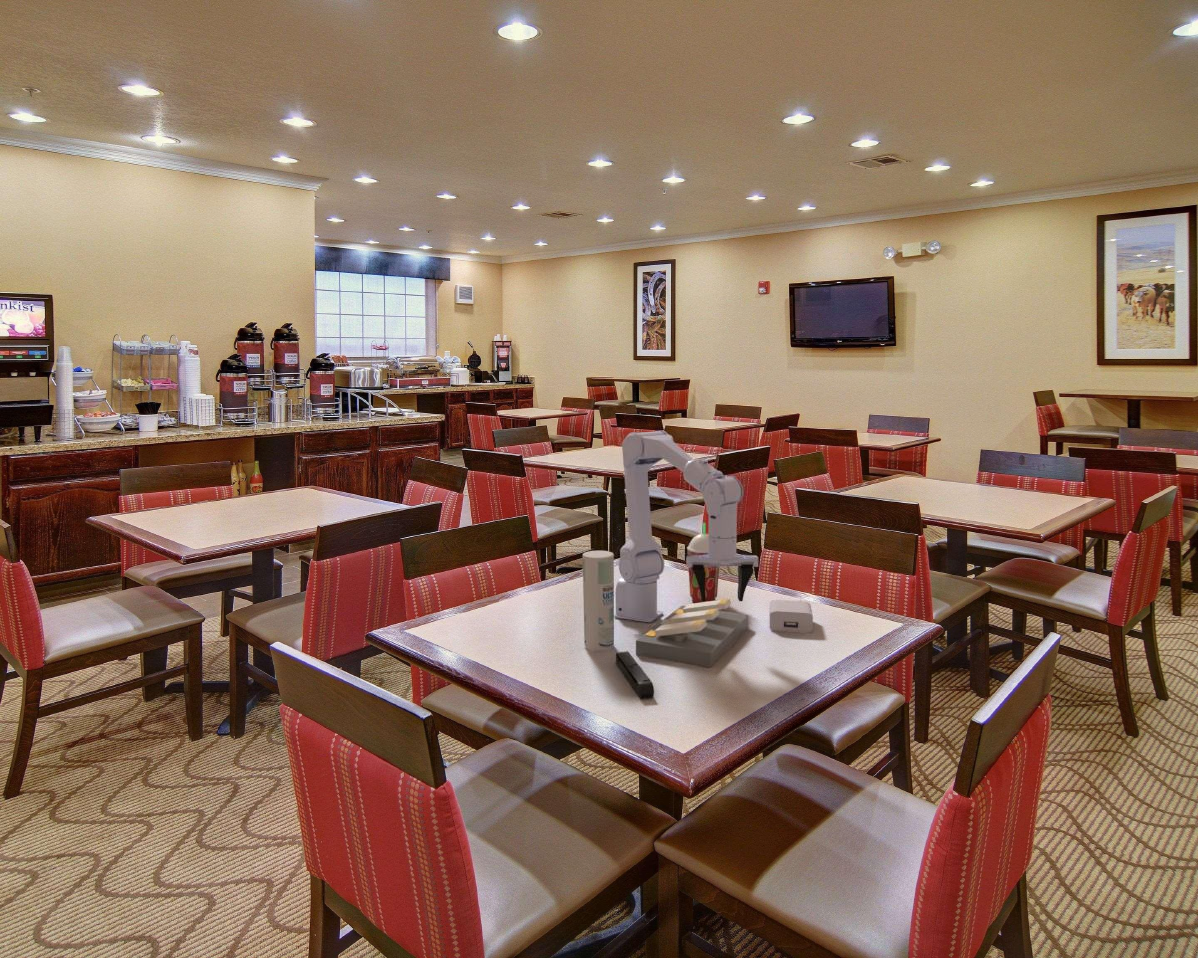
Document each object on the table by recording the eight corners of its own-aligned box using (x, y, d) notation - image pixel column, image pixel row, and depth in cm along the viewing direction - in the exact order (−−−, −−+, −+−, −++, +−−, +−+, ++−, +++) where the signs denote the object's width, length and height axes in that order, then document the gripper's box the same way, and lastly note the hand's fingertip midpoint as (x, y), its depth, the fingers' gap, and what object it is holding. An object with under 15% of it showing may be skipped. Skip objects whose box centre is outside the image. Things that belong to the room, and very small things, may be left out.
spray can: (604, 653, 156) (603, 559, 153) (577, 648, 159) (576, 555, 156) (620, 644, 161) (619, 552, 158) (594, 638, 164) (593, 549, 162)
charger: (808, 612, 181) (812, 633, 167) (769, 610, 183) (769, 631, 169) (809, 593, 181) (813, 613, 166) (769, 591, 183) (769, 610, 168)
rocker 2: (670, 624, 163) (668, 618, 163) (677, 619, 166) (675, 613, 166) (713, 619, 158) (711, 613, 158) (719, 613, 162) (718, 608, 162)
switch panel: (635, 654, 155) (635, 634, 154) (681, 617, 178) (682, 600, 177) (710, 667, 148) (710, 646, 147) (748, 627, 171) (748, 609, 170)
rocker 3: (683, 614, 170) (682, 608, 170) (690, 609, 173) (688, 603, 173) (725, 608, 165) (723, 602, 165) (731, 603, 169) (729, 598, 169)
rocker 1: (655, 636, 156) (654, 630, 156) (663, 630, 159) (661, 624, 159) (700, 631, 151) (698, 624, 151) (707, 625, 154) (705, 618, 154)
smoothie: (725, 599, 192) (726, 521, 190) (711, 607, 185) (712, 527, 183) (695, 594, 197) (696, 518, 194) (681, 602, 190) (681, 524, 187)
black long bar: (654, 700, 134) (654, 684, 134) (640, 702, 133) (640, 685, 133) (627, 663, 151) (627, 648, 151) (614, 664, 151) (614, 650, 150)
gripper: (689, 540, 151) (688, 606, 153) (761, 539, 151) (760, 605, 153) (685, 533, 158) (685, 596, 160) (754, 532, 158) (753, 595, 160)
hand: (721, 600), depth 157 cm, fingers open, 7 cm apart
